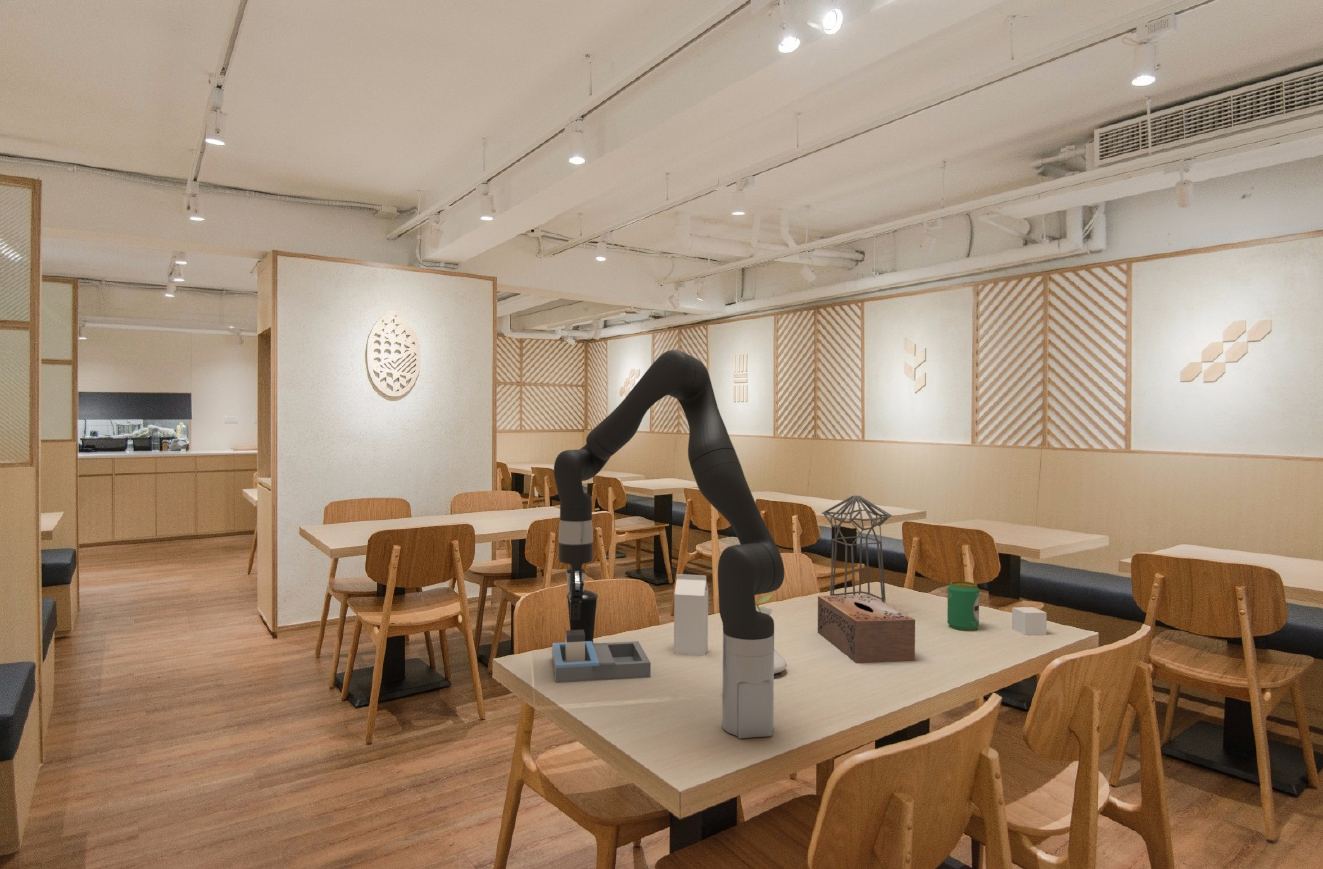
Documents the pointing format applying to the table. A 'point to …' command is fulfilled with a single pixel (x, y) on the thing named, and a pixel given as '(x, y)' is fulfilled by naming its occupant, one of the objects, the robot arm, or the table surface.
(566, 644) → the gray rectangular block
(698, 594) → the milk carton
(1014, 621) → the light gray cube
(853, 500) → the geometric lantern
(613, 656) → the divided storage tray
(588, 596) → the drinking cup
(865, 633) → the tissue box cover
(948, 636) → the table surface
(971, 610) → the beverage can
